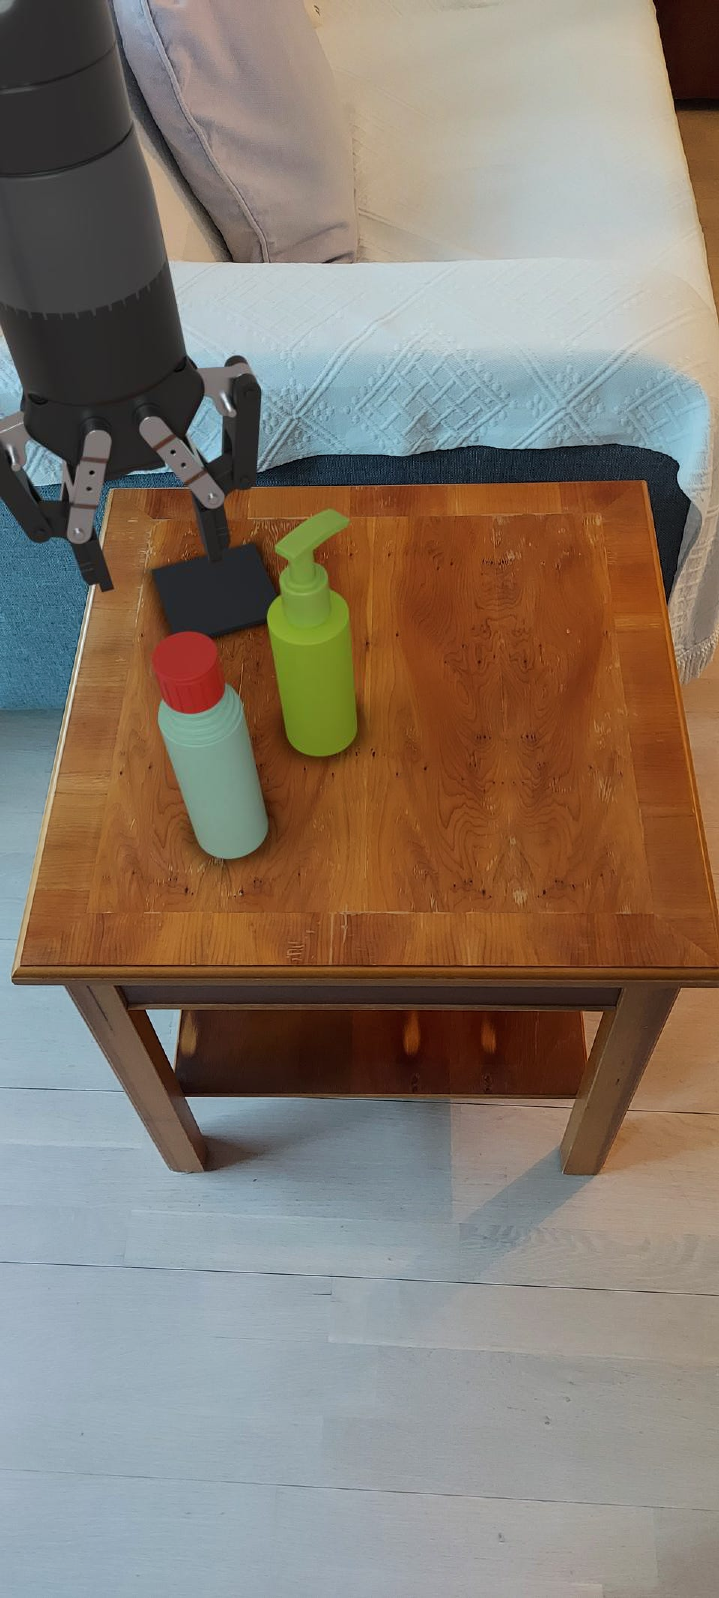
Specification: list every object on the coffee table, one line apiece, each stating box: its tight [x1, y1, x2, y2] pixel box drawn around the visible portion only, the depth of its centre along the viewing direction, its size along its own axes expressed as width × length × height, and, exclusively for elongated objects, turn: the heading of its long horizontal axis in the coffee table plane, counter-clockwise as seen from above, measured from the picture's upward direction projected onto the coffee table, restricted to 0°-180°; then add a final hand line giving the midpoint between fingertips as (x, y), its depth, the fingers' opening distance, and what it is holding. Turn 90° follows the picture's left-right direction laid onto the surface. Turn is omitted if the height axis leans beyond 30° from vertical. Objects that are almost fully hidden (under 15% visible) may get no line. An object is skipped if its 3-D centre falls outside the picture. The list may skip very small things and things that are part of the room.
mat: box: [150, 542, 279, 639], centre depth 91 cm, size 10×10×1 cm
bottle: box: [157, 682, 269, 860], centre depth 69 cm, size 6×6×19 cm
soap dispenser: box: [266, 508, 358, 757], centre depth 74 cm, size 6×7×20 cm
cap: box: [151, 632, 227, 714], centre depth 62 cm, size 4×4×3 cm
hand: (159, 565), depth 55 cm, fingers open, 5 cm apart
